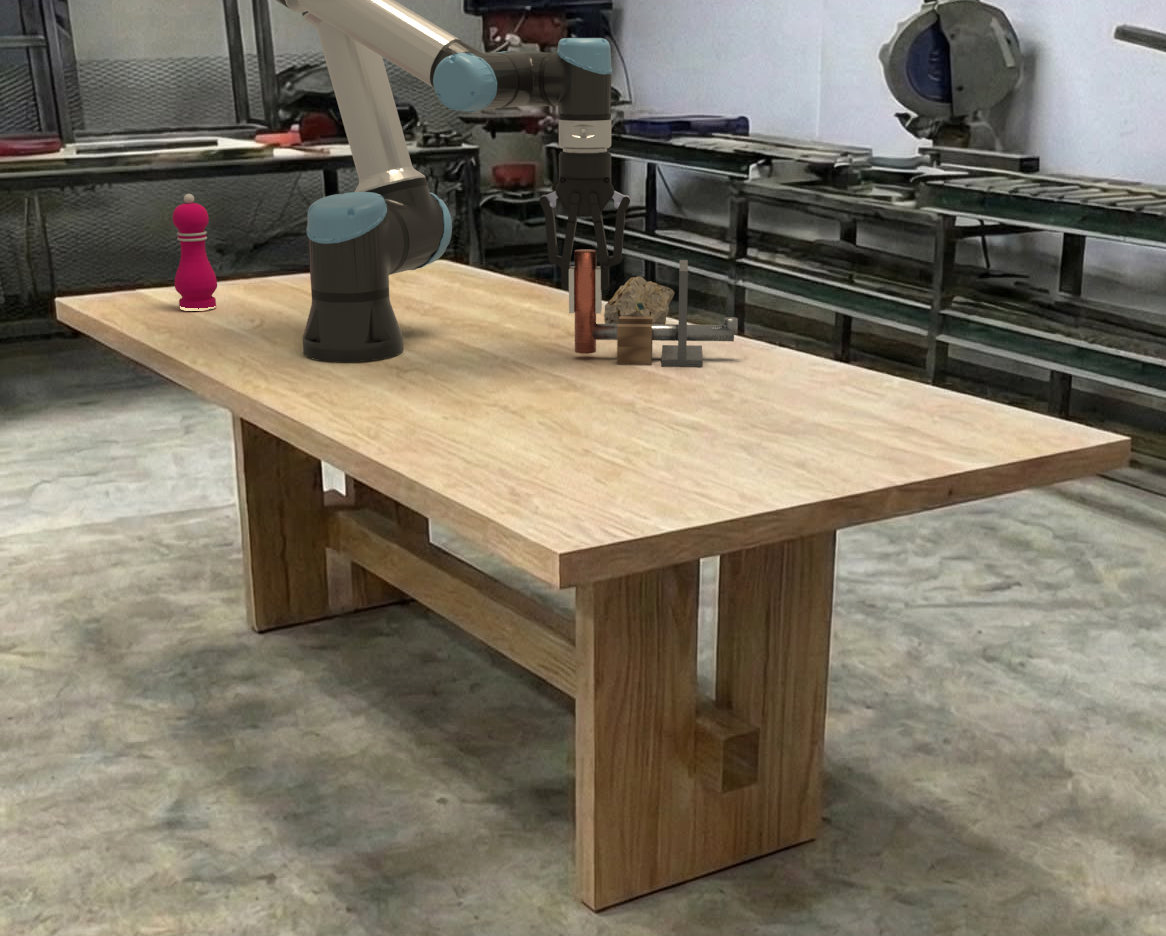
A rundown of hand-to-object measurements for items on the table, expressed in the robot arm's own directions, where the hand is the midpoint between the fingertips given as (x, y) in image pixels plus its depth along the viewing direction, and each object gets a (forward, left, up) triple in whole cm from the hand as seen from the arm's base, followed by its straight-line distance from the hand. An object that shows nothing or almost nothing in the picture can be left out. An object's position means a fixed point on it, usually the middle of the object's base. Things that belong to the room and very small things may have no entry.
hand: (585, 311), depth 213 cm
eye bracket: (+14, 0, -7) cm, 16 cm away
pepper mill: (-71, +35, -7) cm, 79 cm away
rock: (+8, +20, -7) cm, 23 cm away
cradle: (+7, 0, -7) cm, 10 cm away
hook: (+10, 0, -6) cm, 12 cm away
